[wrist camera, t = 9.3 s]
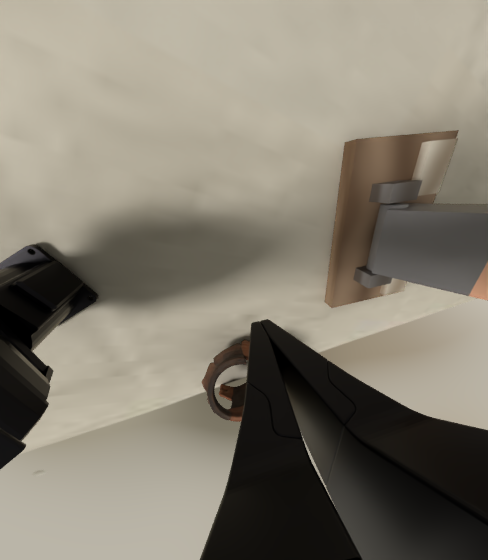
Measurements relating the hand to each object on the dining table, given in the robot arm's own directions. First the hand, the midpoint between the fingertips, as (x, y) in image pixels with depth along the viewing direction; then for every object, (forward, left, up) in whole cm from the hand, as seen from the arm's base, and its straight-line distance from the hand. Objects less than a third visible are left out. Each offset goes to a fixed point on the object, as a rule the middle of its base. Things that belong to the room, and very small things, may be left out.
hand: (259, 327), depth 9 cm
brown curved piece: (-7, -16, -12) cm, 22 cm away
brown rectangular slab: (+16, -8, -12) cm, 22 cm away
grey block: (+14, -7, -10) cm, 19 cm away
